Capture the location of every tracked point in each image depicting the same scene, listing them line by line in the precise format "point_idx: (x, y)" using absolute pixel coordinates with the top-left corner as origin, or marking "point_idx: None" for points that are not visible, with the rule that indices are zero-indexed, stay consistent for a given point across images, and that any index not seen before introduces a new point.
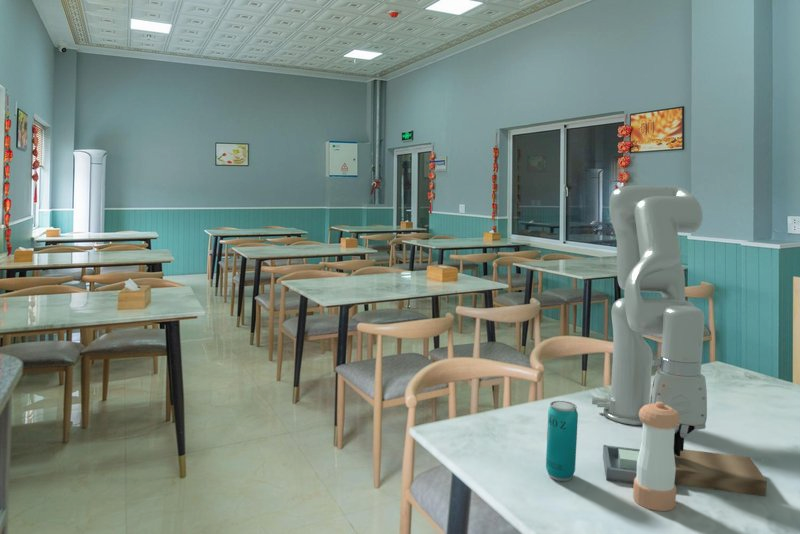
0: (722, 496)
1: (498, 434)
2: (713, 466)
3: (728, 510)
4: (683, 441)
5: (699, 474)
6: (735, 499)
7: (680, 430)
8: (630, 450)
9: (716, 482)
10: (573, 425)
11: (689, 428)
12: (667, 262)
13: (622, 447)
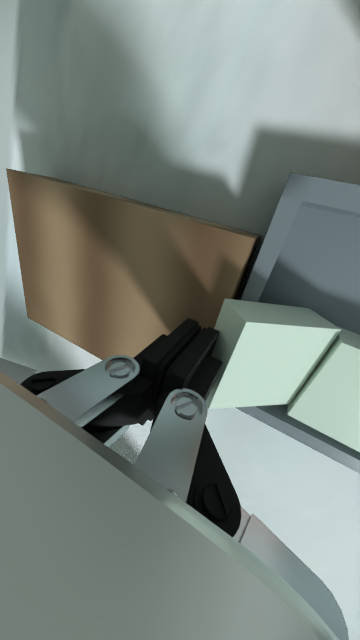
0: (144, 151)
1: None
2: (106, 268)
3: (165, 10)
4: (141, 352)
5: (168, 213)
6: (117, 135)
7: (116, 400)
8: (339, 440)
9: (132, 201)
10: None
11: (57, 386)
12: None
13: (354, 469)
